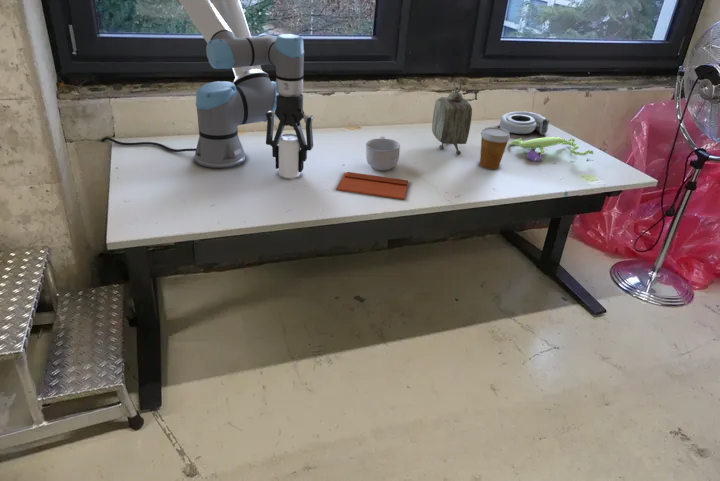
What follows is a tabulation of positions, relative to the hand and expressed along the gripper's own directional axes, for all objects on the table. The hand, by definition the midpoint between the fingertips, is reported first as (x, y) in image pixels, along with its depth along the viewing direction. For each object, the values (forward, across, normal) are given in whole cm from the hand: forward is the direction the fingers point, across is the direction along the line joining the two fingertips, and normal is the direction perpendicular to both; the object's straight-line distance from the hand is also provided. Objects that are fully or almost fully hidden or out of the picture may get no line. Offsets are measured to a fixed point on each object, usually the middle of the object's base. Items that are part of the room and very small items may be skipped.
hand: (289, 168), depth 163 cm
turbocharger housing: (+2, +74, +72) cm, 103 cm away
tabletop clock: (+2, +46, +39) cm, 60 cm away
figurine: (+2, +83, +48) cm, 96 cm away
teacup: (+2, +26, +17) cm, 31 cm away
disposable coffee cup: (+2, +61, +29) cm, 68 cm away
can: (+2, 0, 0) cm, 2 cm away
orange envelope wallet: (+2, +26, 0) cm, 26 cm away
